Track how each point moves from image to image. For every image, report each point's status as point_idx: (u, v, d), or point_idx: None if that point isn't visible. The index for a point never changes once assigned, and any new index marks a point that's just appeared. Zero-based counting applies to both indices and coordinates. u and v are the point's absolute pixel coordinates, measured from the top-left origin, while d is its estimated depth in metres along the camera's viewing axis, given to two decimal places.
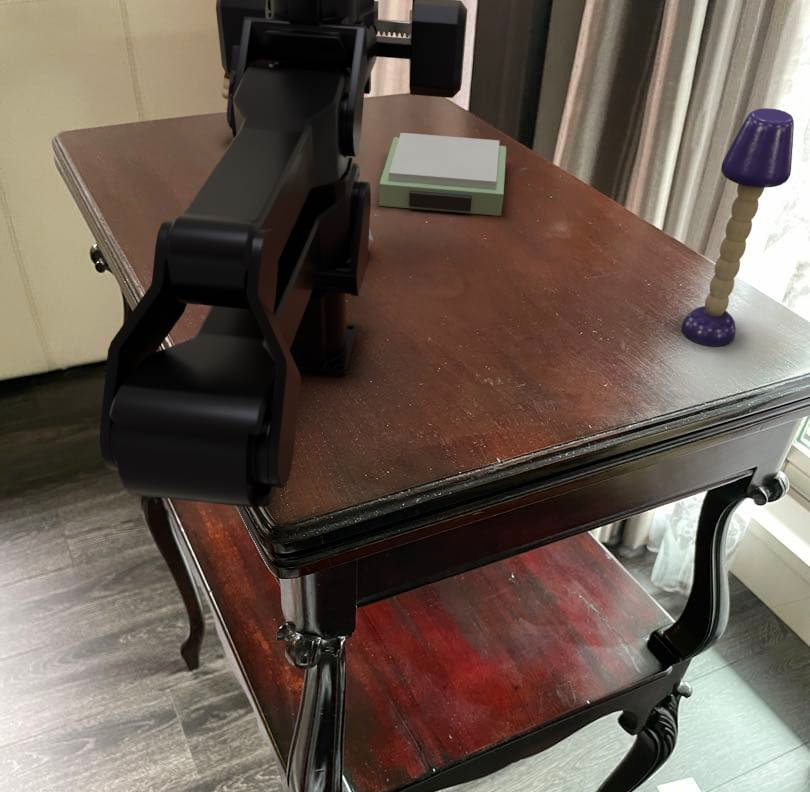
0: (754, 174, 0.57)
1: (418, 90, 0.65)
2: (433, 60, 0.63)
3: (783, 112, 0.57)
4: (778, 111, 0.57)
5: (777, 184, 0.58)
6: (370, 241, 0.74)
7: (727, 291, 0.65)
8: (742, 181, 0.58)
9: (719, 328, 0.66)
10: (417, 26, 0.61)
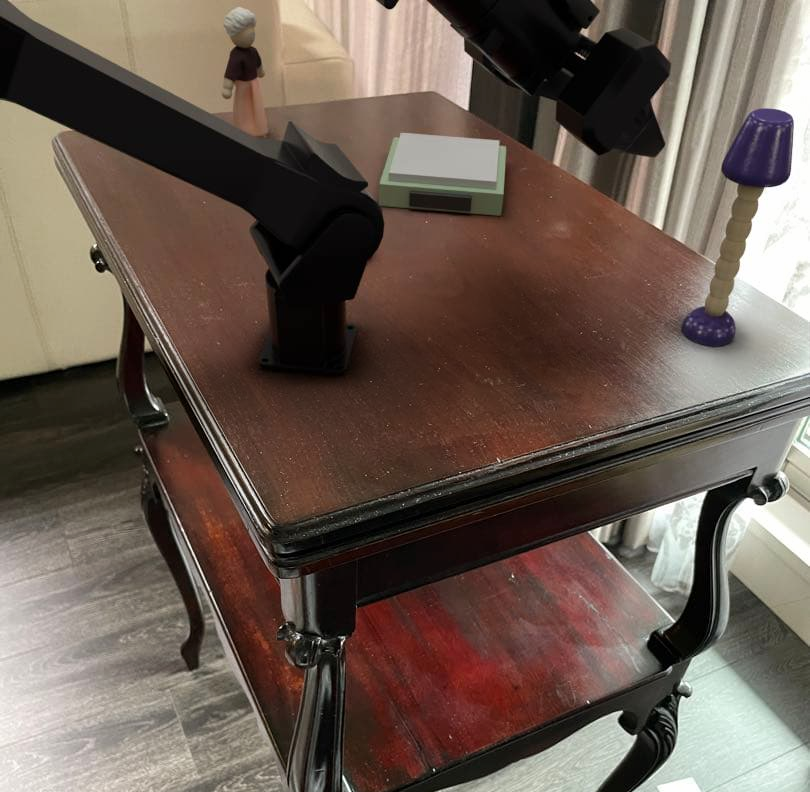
0: (754, 174, 0.57)
1: (561, 111, 0.52)
2: (591, 79, 0.50)
3: (783, 112, 0.57)
4: (778, 111, 0.57)
5: (777, 184, 0.58)
6: None
7: (727, 291, 0.65)
8: (742, 181, 0.58)
9: (719, 328, 0.66)
10: (605, 39, 0.50)
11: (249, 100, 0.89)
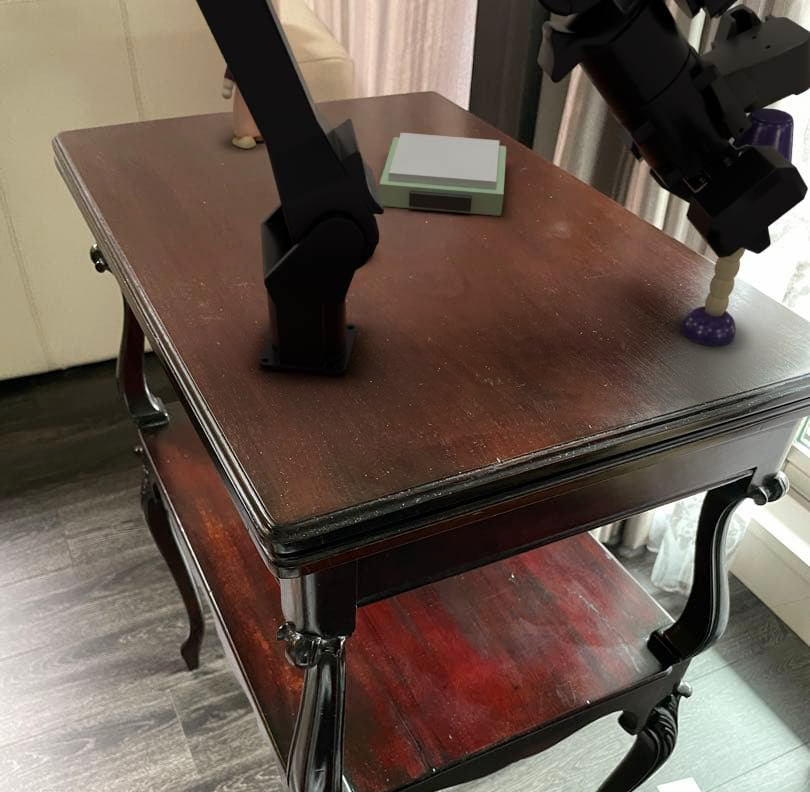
0: None
1: (693, 209, 0.54)
2: (728, 186, 0.52)
3: (783, 112, 0.57)
4: (778, 111, 0.57)
5: None
6: None
7: (727, 291, 0.65)
8: None
9: (719, 328, 0.66)
10: (750, 153, 0.52)
11: None
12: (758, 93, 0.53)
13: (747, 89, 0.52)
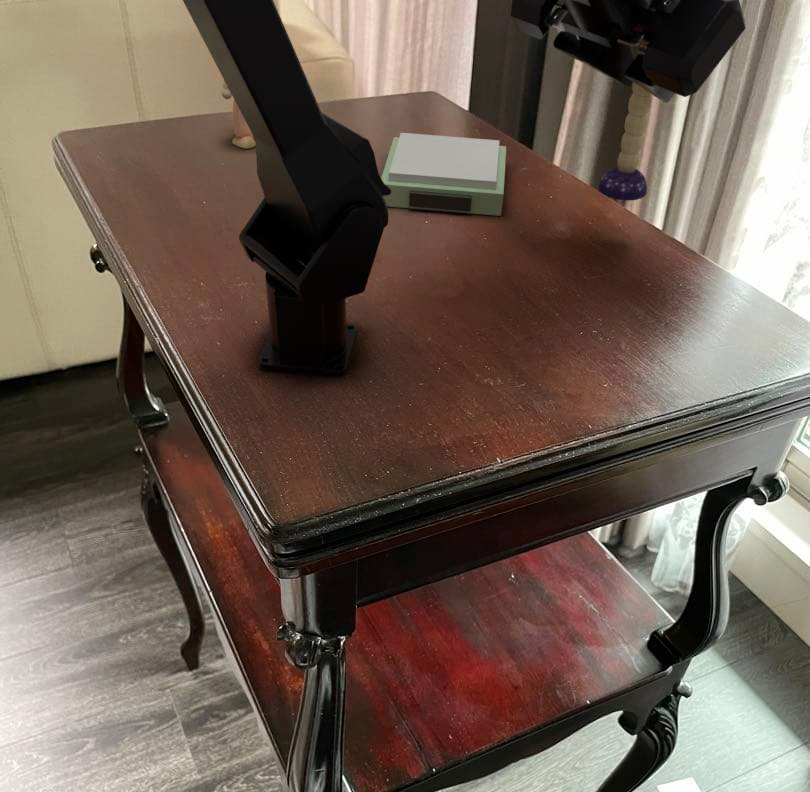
0: None
1: (651, 57, 0.59)
2: (683, 28, 0.57)
3: None
4: None
5: None
6: None
7: (640, 146, 0.71)
8: None
9: (638, 182, 0.73)
10: None
11: None
12: None
13: None
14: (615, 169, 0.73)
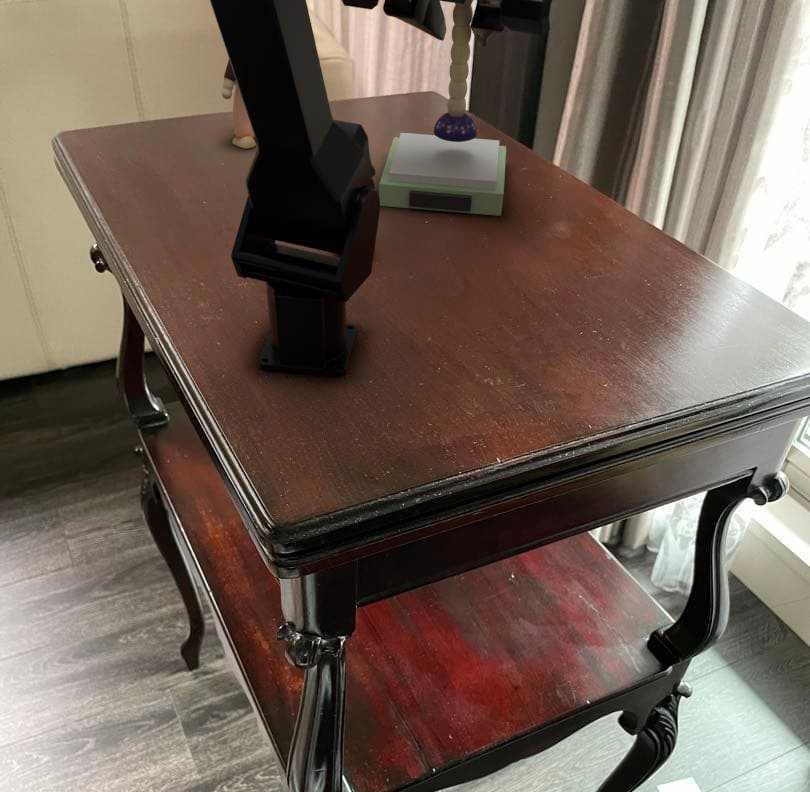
0: None
1: (509, 5, 0.67)
2: None
3: None
4: None
5: None
6: None
7: (466, 90, 0.79)
8: None
9: (471, 122, 0.81)
10: None
11: None
12: None
13: None
14: (447, 116, 0.81)
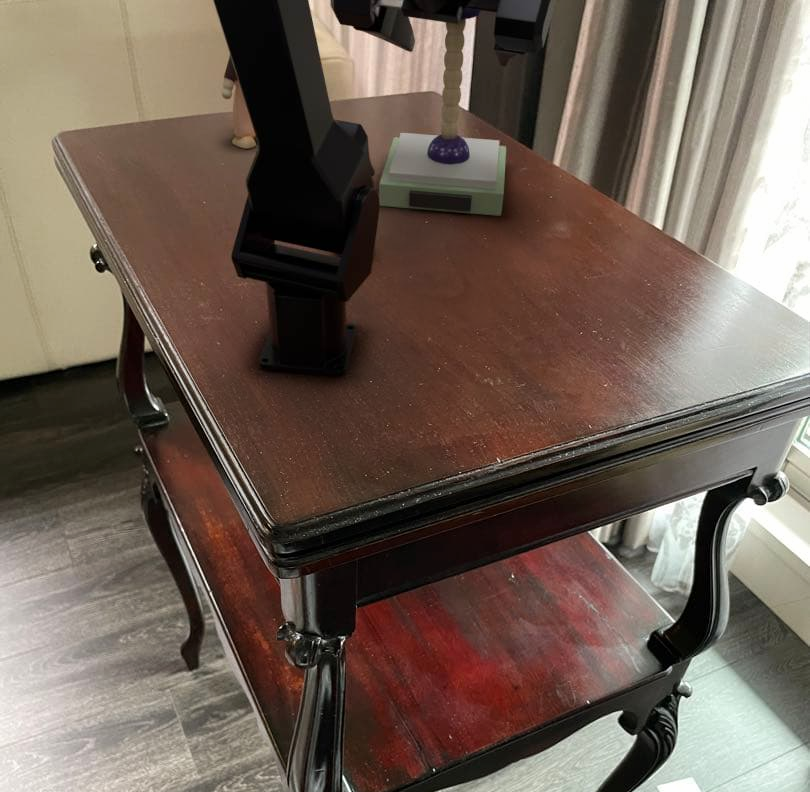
0: None
1: (502, 25, 0.68)
2: None
3: None
4: None
5: None
6: None
7: (459, 113, 0.81)
8: (467, 15, 0.73)
9: (464, 145, 0.83)
10: None
11: None
12: None
13: None
14: (440, 138, 0.82)
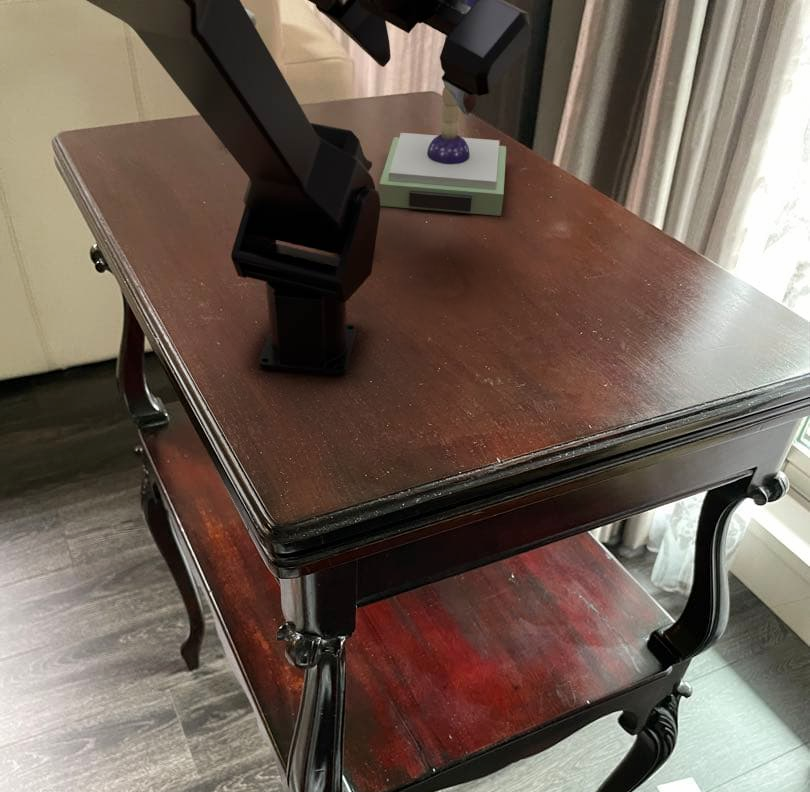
0: None
1: (450, 50, 0.60)
2: (481, 28, 0.59)
3: None
4: None
5: None
6: None
7: (459, 113, 0.81)
8: None
9: (464, 145, 0.83)
10: None
11: None
12: None
13: None
14: (440, 138, 0.82)
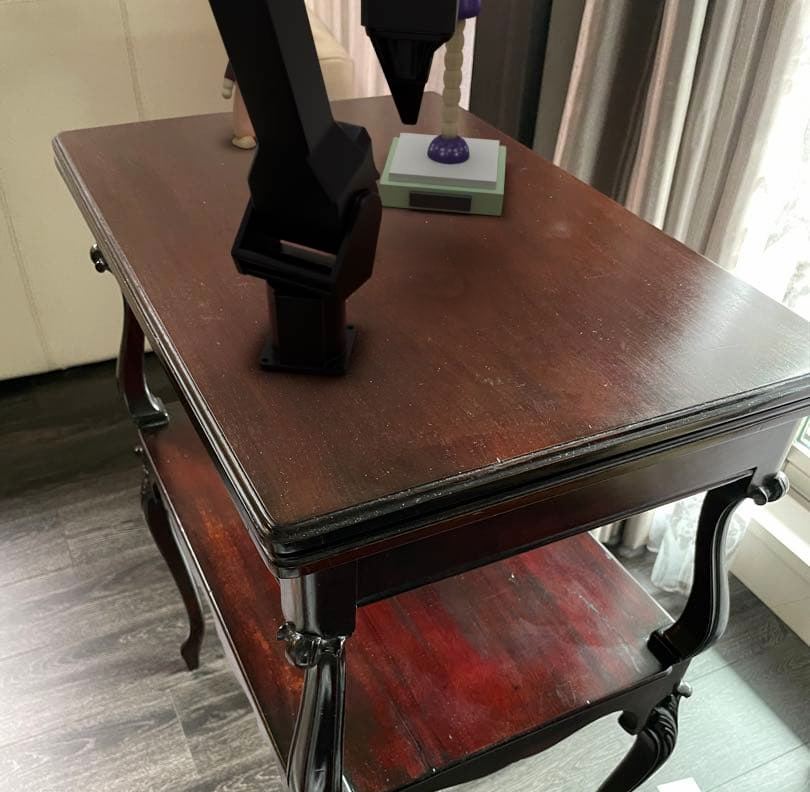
0: (473, 6, 0.73)
1: None
2: None
3: None
4: None
5: (481, 9, 0.74)
6: None
7: (459, 113, 0.81)
8: (467, 15, 0.73)
9: (464, 145, 0.83)
10: None
11: None
12: None
13: None
14: (440, 138, 0.82)
